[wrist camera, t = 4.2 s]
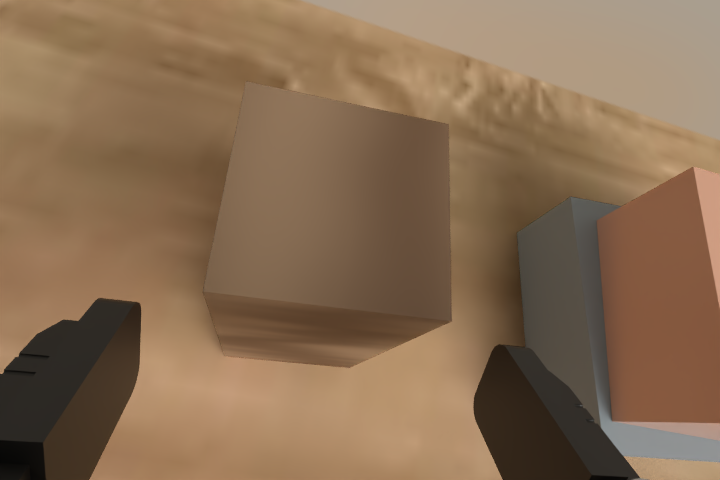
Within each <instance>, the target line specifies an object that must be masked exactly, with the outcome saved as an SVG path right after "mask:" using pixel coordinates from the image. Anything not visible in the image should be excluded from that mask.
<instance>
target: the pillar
mask: <svg viewBox="0 0 720 480" xmlns="http://www.w3.org/2000/svg"><path fill="white" fill-rule="evenodd" d="M203 294H204V297H205V300H206V303H207V306H208V308H209V311H210V314H211V317H212V320H213V323H214V326H215V329H216V332H217V335H218V338H219V341H220V344H221V346H222V349H223V352H224V355H225V356H228V357H239V358H250V359H261V360H271V361H282V362H293V363H303V364H314V365H325V366H335V367H346V368H350V367H352V366H355V365H357V364H359V363H361V362H363V361H365V360H368V359H370V358H372V357H374V356H376V355H379V354H381V353H383V352H385V351H387V350H390V349H392V348H394V347H396V346H398V345H401V344H403V343H405V342H407V341H409V340H412V339H414V338H416V337H418V336H420V335H423V334H425V333H427V332H429V331H431V330H434V329H436V328H438V327H440V326H442V325H444V324H447V323H449V322H451V321H452V313H451V250H450V186H449V124H445V123H440V122H436V121H431V120H426V119H421V118H417V117H412V116H407V115H403V114H398V113H393V112H388V111H384V110H379V109H374V108H370V107H365V106H360V105H355V104H351V103H346V102H341V101H337V100H332V99H327V98H322V97H318V96H313V95H308V94H304V93H299V92H294V91H290V90H285V89H280V88H275V87H271V86H266V85H261V84H257V83H252V82H247V81H246V84H245V89H244V93H243V98H242V103H241V108H240V113H239V118H238V123H237V127H236V132H235V137H234V142H233V147H232V152H231V156H230V161H229V166H228V171H227V176H226V181H225V186H224V190H223V195H222V200H221V205H220V210H219V215H218V220H217V224H216V229H215V234H214V239H213V244H212V249H211V253H210V258H209V263H208V268H207V273H206V278H205V283H204V287H203Z"/></svg>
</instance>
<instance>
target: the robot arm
mask: <svg viewBox="0 0 720 480" xmlns="http://www.w3.org/2000/svg"><path fill="white" fill-rule="evenodd" d="M140 332H141V306H140V303H138V302H131V301H122V300H113V299H104V298H98V299H97V300H96V301H95V302H94V303H93V304H92V305H91V307H90V308H89V309H88V310H87V312H86V313H85V314H84V315H83V316H82V318H81V319H80V320H79V321H72V320H62V321H60V322H58V323H57V324H55V325H53V326H51V327H49V328H47V329H46V330H44V331H42V332H40V333H38V334H37V335H36V336H35V337H34V338H33V339H32V340H31V341H30V342H29V343H28V345H27V346H26V347H25V348H24V349H23V350H22V351H21V352H20V353H19V357H15V359H14V360H13V361H12V362H11V363H10V364H9V365H8V366H7V367H6V368H5V369H4V373H3V374H0V480H89V479H90V477H91V475H92V473H93V471H94V469H95V467H96V465H97V463H98V461H99V459H100V457H101V455H102V453H103V451H104V449H105V447H106V445H107V443H108V441H109V439H110V437H111V435H112V433H113V431H114V429H115V427H116V425H117V423H118V421H119V419H120V417H121V415H122V412H123V410H124V408H125V406H126V404H127V402H128V400H129V398H130V396H131V394H132V392H133V389H134V387H135V383H136V380H137V376H138V371H139V363H140ZM474 416H475V420H476V422H477V425H478V427H479V429H480V431H481V433H482V435H483V438H484V440H485V442H486V444H487V446H488V448H489V451H490V453H491V455H492V457H493V459H494V461H495V464H496V466H497V468H498V470H499V472H500V475H501V477H502V479H503V480H648V479H641V478H640V477H639V476H638V475H637V473H636V472H635V471H634V469H633V468H632V467H631V466H630V464H629V463H628V462H627V460H626V459H625V458H624V457H623V455H622V454H621V453H620V452H619V450H618V449H617V448H616V446H615V445H614V444H613V443H612V441H611V440H610V439H609V437H608V436H607V435H606V434H605V432H604V431H603V430H602V428H601V427H600V426H599V425H598V423H595V422H594V420H595V419H594V418H593V417H592V416H591V414H590V413H589V412H588V411H587V409H586V408H583V404H582V403H581V402H580V400H579V399H578V398H577V396H576V395H575V394H574V393H573V391H572V390H571V389H570V387H569V386H567V385H566V384H565V383H564V382H562V381H561V380H560V379H559V378H558V377H556V376H555V375H554V374H553V373H551V372H550V371H548V370H547V368H546V367H545V366H544V364H543V363H542V362H541V360H540V359H539V358H538V356H537V355H536V354H535V352H534V351H533V350H532V349H530V348H527V347H518V346H510V345H500V344H499V345H497V346H495V347H494V349H493V350H492V352H491V355H490V357H489V360H488V362H487V365H486V368H485V370H484V373H483V375H482V378H481V380H480V383H479V385H478V388H477V391H476V393H475V397H474Z"/></svg>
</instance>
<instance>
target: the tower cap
mask: <svg viewBox="0 0 720 480" xmlns="http://www.w3.org/2000/svg"><path fill="white" fill-rule="evenodd" d="M597 232H598V245H599V258H600V270H601V283H602V296H603V309H604V322H605V335H606V347H607V360H608V373H609V386H610V399H611V411H612V422H618V423H623V424H629V425H635V426H640V427H646V428H651V429H657V430H662V431H668V432H674V433H679V434H685V435H690V436H696V437H701V438H707V439H712V440H718V441H720V174H717V173H714V172H710V171H707V170H703V169H700V168H697V167H692V168H690V169H688V170H686V171H684V172H683V173H681V174H679V175H677V176H675V177H674V178H672V179H670V180H668V181H666V182H665V183H663V184H661V185H659V186H657V187H656V188H654V189H652V190H650V191H648V192H647V193H645V194H643V195H641V196H640V197H638V198H636V199H634V200H632V201H631V202H629V203H627V204H625V205H623V206H622V207H620V208H618V209H616V210H614V211H613V212H611V213H609V214H607V215H605V216H604V217H602V218H600V219H598V220H597Z"/></svg>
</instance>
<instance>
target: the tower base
mask: <svg viewBox="0 0 720 480" xmlns="http://www.w3.org/2000/svg"><path fill="white" fill-rule="evenodd" d="M620 207H622V206H617V205H612V204H607V203H601V202H596V201H591V200H586V199H580V198H575V197H569V198H568V199H566V200H565V201H563V202H562V203H560V204H559V205H558V206H556V207H555V208H553V209H552V210H550V211H549V212H547V213H546V214H544V215H543V216H541V217H540V218H538V219H537V220H535V221H534V222H532V223H531V224H529V225H528V226H526V227H525V228H523V229H522V230H520V231H519V232H517V241H518V254H519V267H520V280H521V293H522V307H523V320H524V333H525V346H526V347H527V348H530V349H532V350H533V351H534V352H535V354H536V355H537V356H538V358H539V359H540V360H541V362H542V363H543V364H544V366H545V367H546V368H547V370H548V371H550V372H551V373H553V374H554V375H555V376H556V377H558V378H559V379H560V380H561V381H562V382H564V383H565V384H566V385H567V386H569V387H570V389H571V390H572V391H573V393H574V394H575V395H576V396H577V398H578V399H579V400H580V402H581V403H582V404H583V408H586V409H587V411H588V412H589V413H590V414H591V416H592V417H593V418H594V419H595V420H594V422H595V423H598V425H599V426H600V427H601V428H602V430H603V431H604V432H605V434H606V435H607V436H608V437H609V439H610V440H611V441H612V443H613V444H614V445H615V446H616V448H617V449H618V450H619V452H620V453H621V454H622V455H623V456H630V457H646V458H661V459H677V460H692V461H708V462H720V441H718V440H712V439H707V438H701V437H696V436H690V435H685V434H679V433H674V432H668V431H662V430H657V429H651V428H646V427H640V426H635V425H629V424H623V423H618V422H612V411H611V399H610V386H609V373H608V360H607V347H606V335H605V322H604V309H603V296H602V283H601V270H600V258H599V245H598V232H597V220H598V219H600V218H602V217H604V216H605V215H607V214H609V213H611V212H613V211H614V210H616V209H618V208H620Z"/></svg>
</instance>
